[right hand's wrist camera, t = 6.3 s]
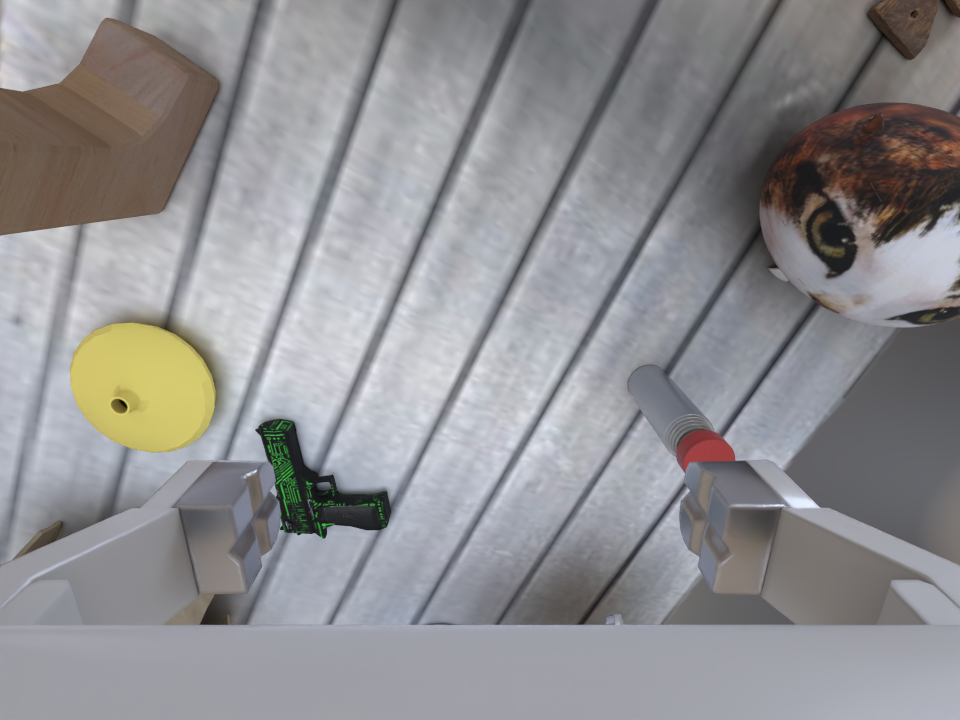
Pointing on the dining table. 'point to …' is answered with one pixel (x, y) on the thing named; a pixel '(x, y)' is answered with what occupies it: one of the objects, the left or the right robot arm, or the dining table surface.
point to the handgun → (314, 490)
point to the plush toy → (870, 214)
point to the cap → (703, 448)
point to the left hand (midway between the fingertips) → (568, 628)
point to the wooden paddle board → (908, 22)
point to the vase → (142, 387)
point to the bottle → (665, 406)
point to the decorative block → (101, 134)
